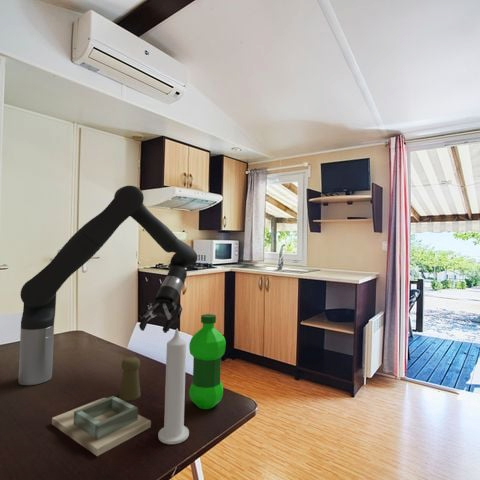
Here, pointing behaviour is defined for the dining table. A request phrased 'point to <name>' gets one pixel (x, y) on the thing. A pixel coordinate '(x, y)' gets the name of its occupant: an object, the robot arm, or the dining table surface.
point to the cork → (130, 379)
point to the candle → (174, 393)
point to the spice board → (102, 424)
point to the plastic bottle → (207, 364)
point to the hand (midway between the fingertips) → (152, 330)
